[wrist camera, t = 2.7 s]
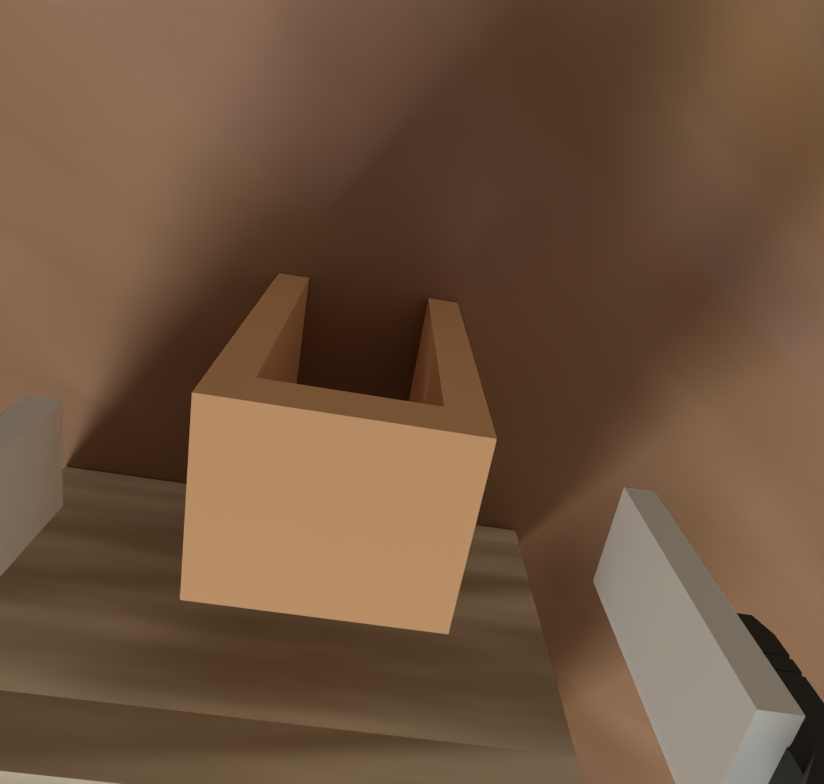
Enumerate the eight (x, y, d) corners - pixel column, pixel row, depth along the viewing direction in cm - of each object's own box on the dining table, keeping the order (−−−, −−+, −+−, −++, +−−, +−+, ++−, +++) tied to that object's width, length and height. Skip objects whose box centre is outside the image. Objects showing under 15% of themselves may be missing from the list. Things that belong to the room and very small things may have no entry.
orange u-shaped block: (279, 272, 23) (191, 392, 13) (457, 302, 23) (497, 438, 14) (265, 409, 24) (180, 599, 15) (430, 434, 25) (448, 634, 16)
